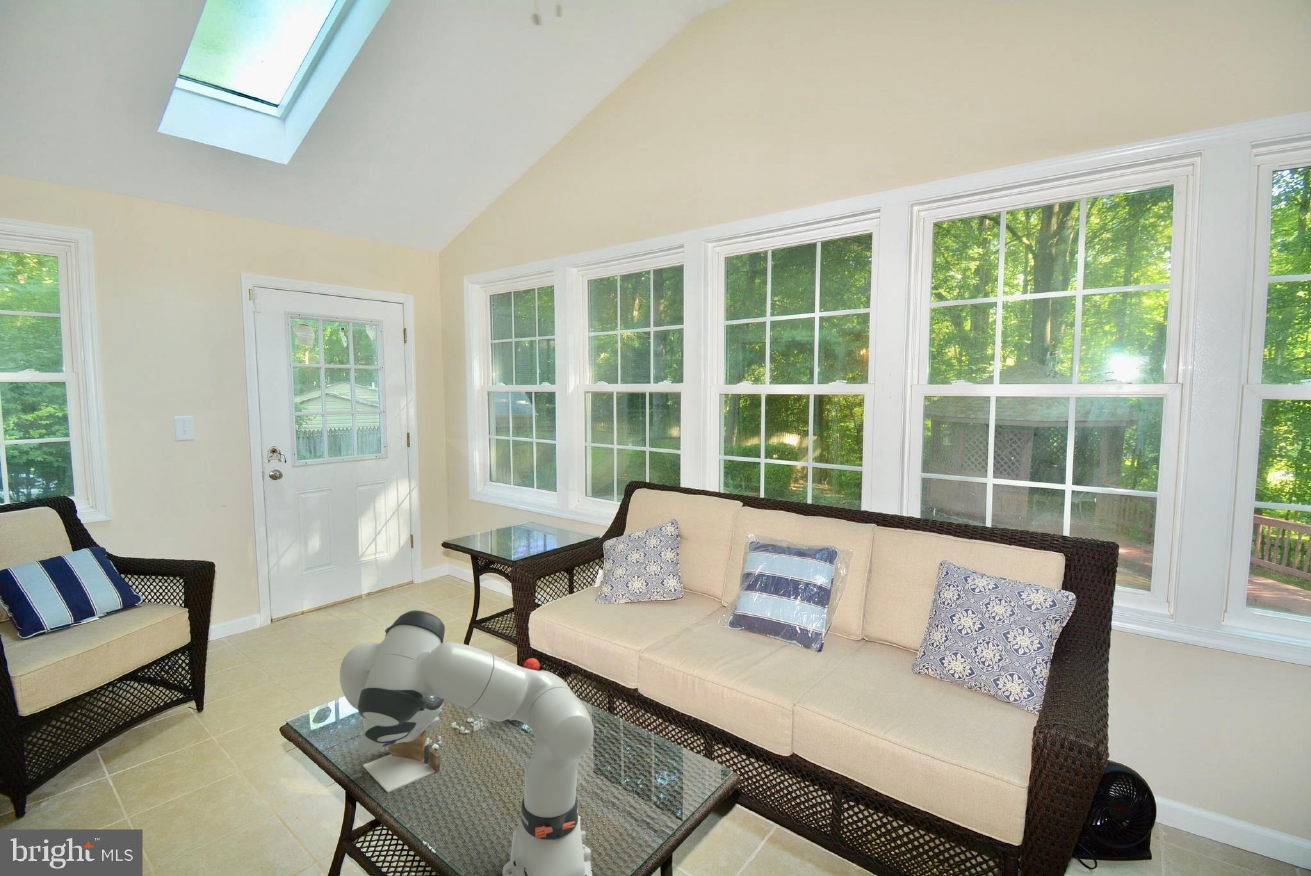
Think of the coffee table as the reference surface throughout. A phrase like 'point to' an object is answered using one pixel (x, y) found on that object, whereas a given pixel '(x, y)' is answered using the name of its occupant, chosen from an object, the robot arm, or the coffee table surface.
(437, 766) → the fence post
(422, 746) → the fence panel
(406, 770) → the card
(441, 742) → the white blossom branch
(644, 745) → the coffee table surface
